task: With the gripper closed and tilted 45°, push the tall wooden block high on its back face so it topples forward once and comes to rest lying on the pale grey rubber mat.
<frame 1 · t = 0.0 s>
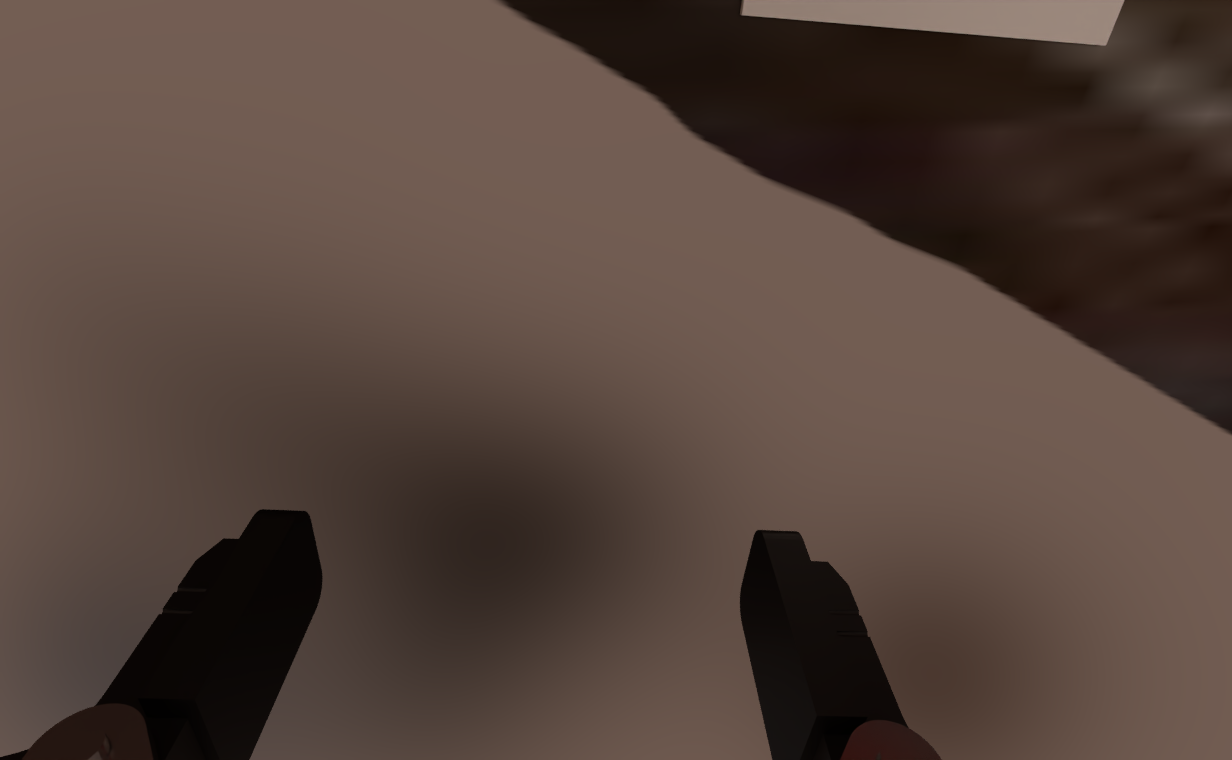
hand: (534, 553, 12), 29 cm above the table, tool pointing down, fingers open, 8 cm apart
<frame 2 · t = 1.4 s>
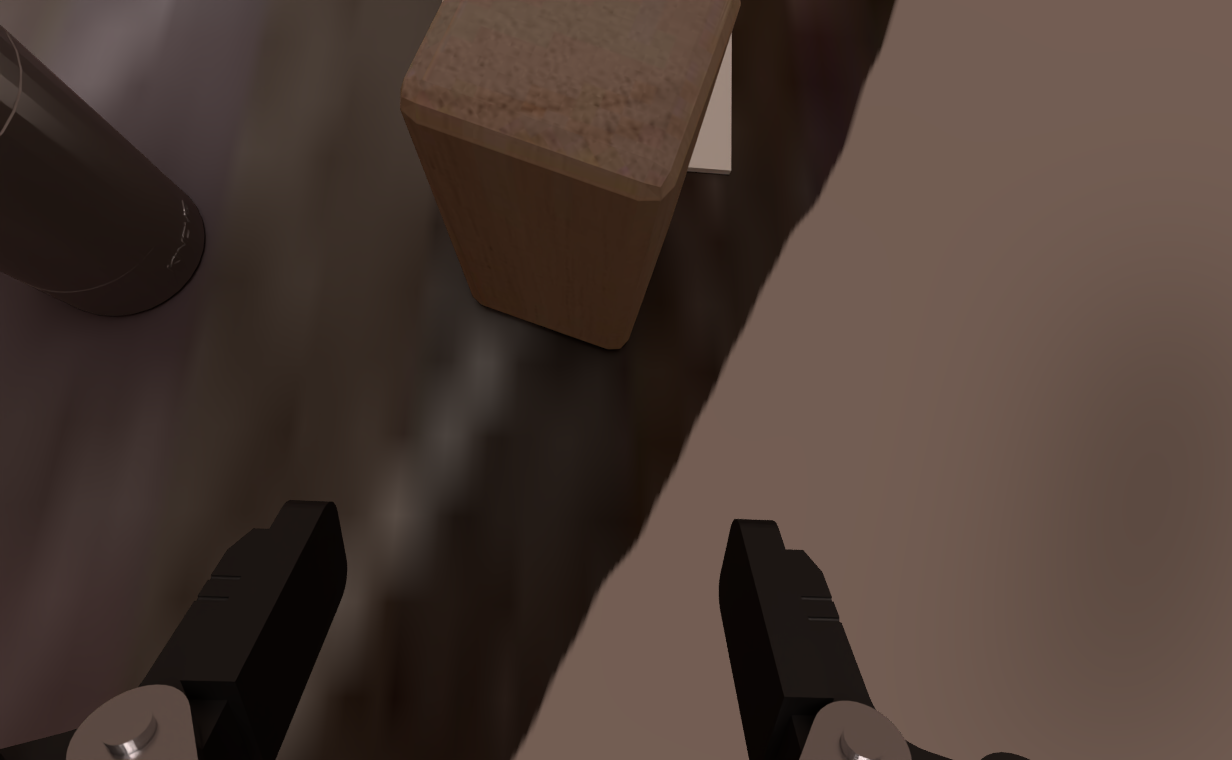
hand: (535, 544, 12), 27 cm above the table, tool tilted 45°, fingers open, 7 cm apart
wooden block: (573, 262, 42), on the table
pale grey mat: (587, 40, 46), on the table
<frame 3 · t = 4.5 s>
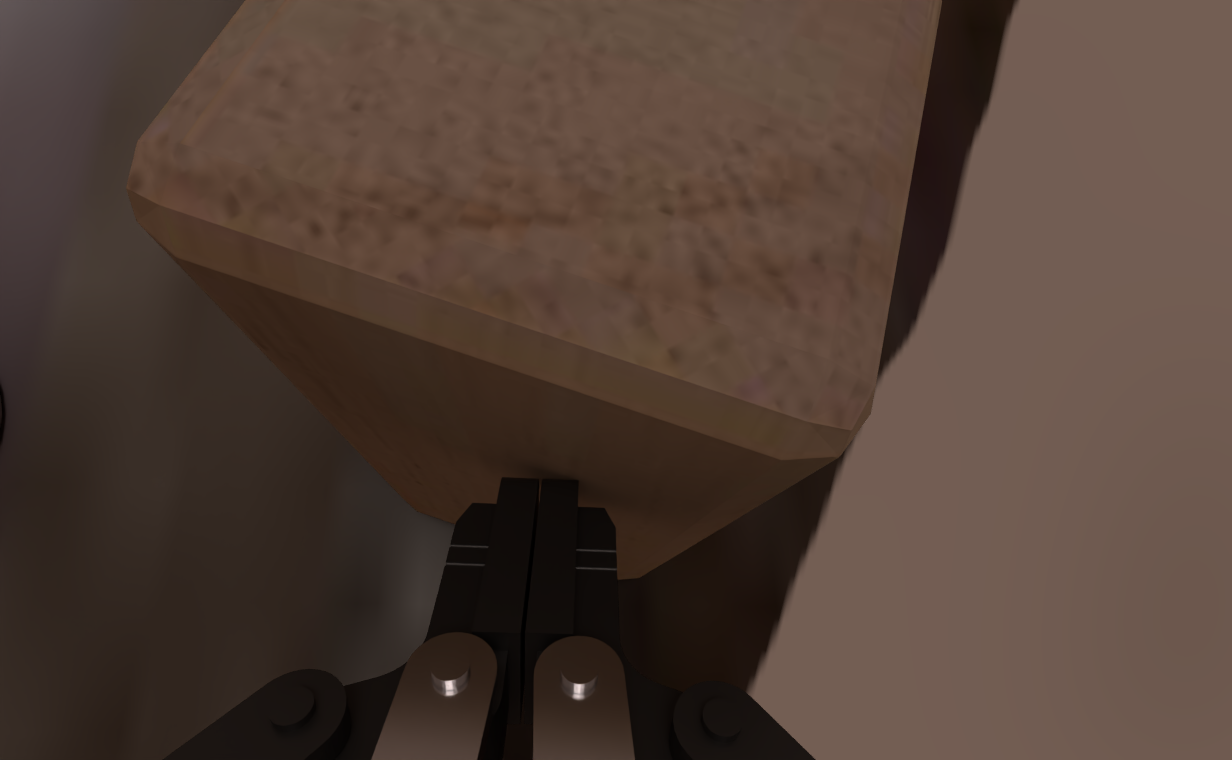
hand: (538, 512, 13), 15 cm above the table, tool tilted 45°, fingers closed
wooden block: (560, 433, 28), on the table
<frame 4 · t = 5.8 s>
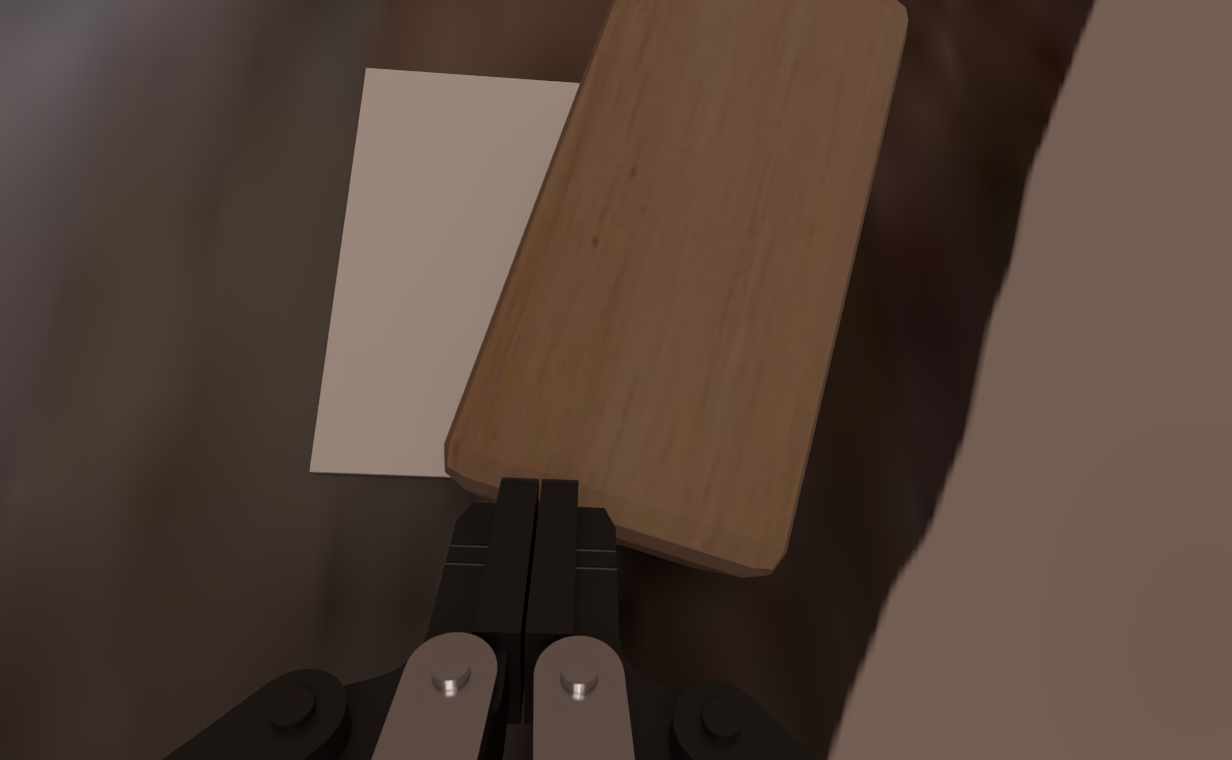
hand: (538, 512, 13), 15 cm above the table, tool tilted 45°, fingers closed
wooden block: (596, 541, 22), point 5 cm above the table, touching pale grey mat
pale grey mat: (568, 271, 30), on the table
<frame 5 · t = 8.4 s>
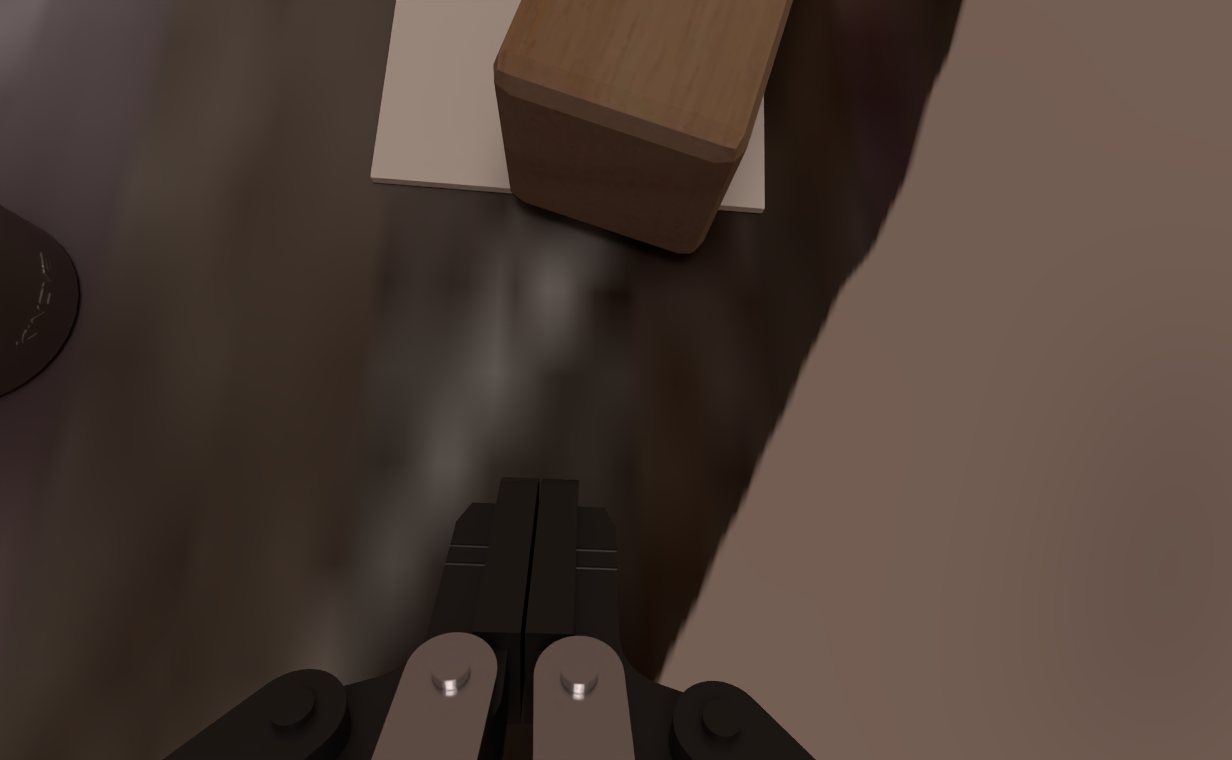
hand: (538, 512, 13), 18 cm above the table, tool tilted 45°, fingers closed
wooden block: (603, 188, 29), point 5 cm above the table, touching pale grey mat
pale grey mat: (581, 41, 37), on the table
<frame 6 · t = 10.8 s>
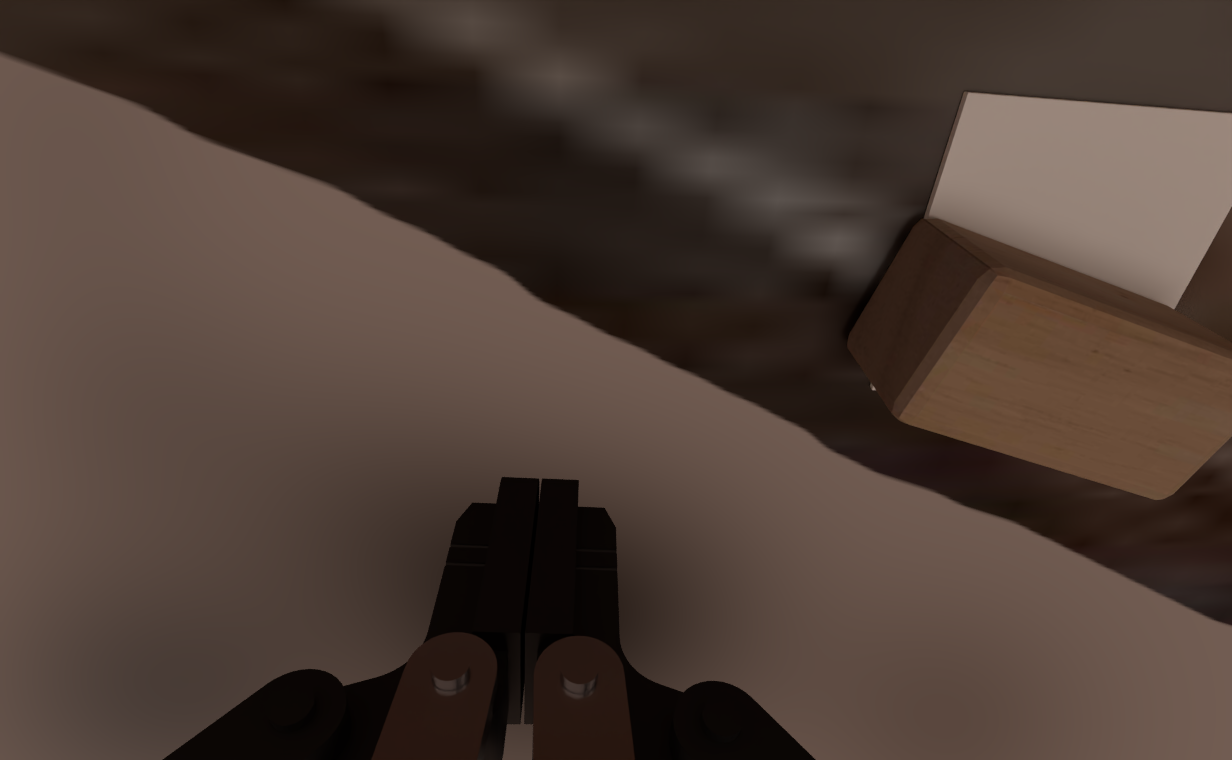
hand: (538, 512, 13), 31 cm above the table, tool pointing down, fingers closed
wooden block: (901, 311, 39), point 5 cm above the table, touching pale grey mat
pale grey mat: (1050, 265, 44), on the table
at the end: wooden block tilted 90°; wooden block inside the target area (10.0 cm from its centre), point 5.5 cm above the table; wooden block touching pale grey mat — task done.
